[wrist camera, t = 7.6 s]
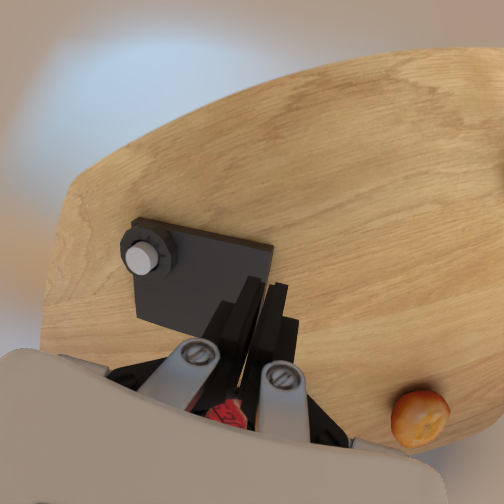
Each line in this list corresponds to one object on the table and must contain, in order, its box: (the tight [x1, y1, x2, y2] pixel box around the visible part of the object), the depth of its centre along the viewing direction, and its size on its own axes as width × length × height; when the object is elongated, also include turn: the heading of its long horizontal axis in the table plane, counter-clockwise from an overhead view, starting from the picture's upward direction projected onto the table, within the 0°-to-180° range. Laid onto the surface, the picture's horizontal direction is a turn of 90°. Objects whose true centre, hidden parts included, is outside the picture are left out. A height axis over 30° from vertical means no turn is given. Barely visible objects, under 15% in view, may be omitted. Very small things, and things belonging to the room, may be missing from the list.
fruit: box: [391, 390, 450, 448], centre depth 28 cm, size 8×8×8 cm
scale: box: [120, 217, 274, 338], centre depth 28 cm, size 14×12×3 cm
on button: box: [126, 241, 158, 275], centre depth 26 cm, size 3×3×2 cm
